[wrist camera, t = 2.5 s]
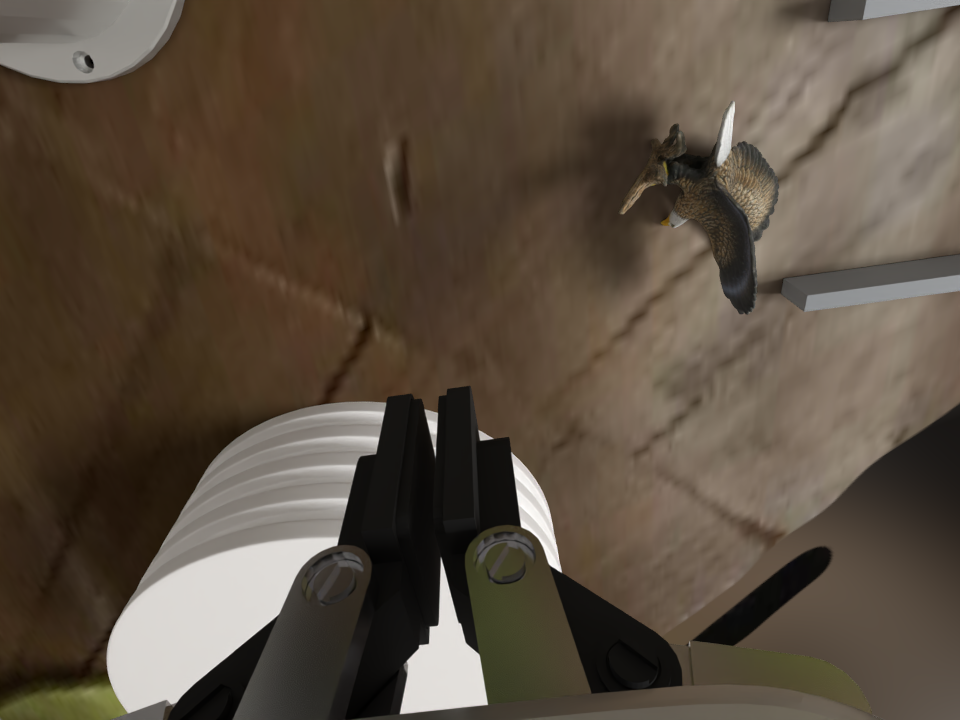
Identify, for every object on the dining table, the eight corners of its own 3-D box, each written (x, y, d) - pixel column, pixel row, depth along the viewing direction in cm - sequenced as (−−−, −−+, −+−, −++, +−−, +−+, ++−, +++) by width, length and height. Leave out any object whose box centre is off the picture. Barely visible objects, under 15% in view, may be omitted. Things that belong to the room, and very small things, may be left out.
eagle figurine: (582, 235, 29) (708, 328, 30) (651, 186, 22) (812, 311, 23) (650, 127, 30) (769, 221, 31) (736, 47, 23) (885, 173, 24)
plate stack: (598, 590, 46) (636, 737, 37) (325, 675, 52) (294, 824, 42) (457, 337, 33) (458, 462, 23) (109, 486, 38) (-12, 640, 28)
